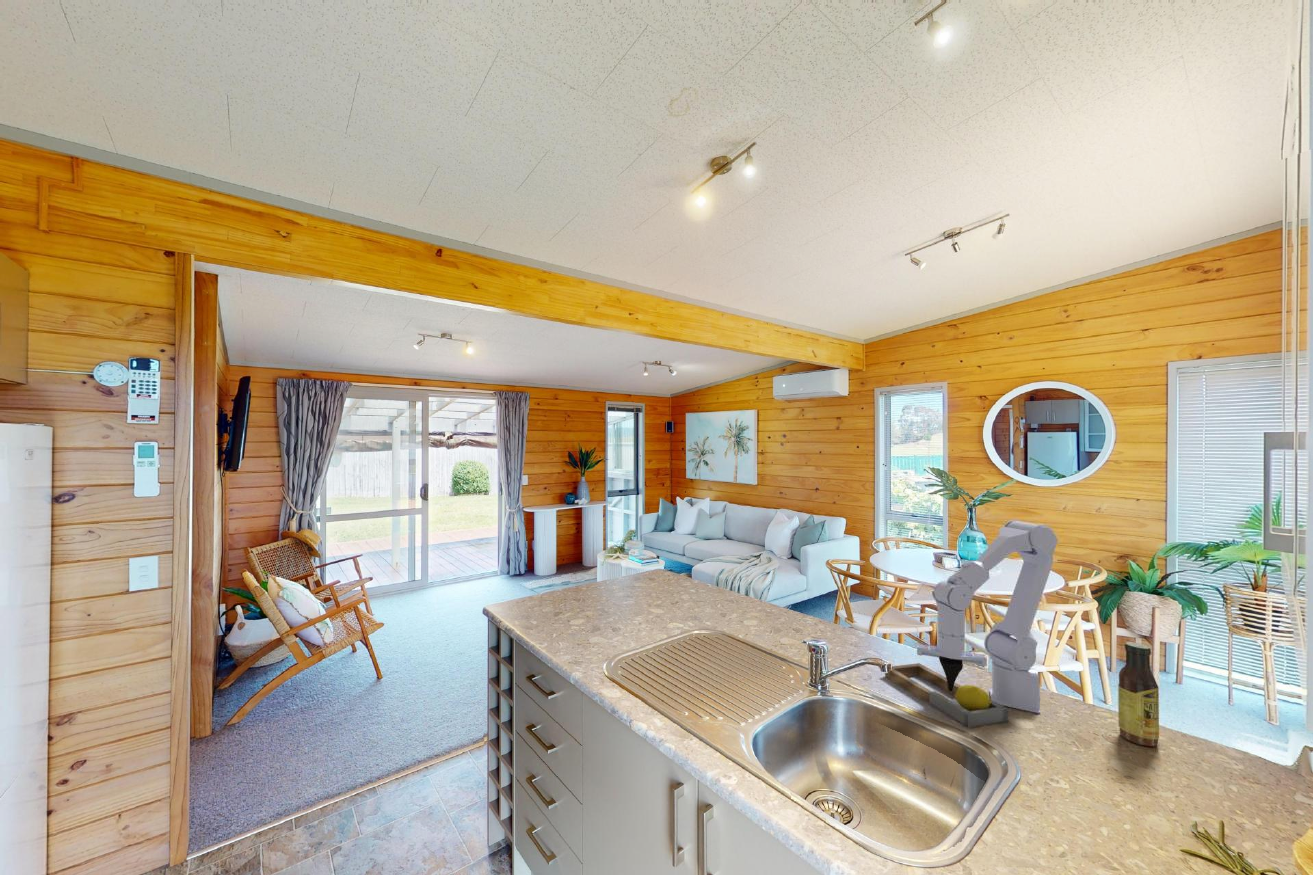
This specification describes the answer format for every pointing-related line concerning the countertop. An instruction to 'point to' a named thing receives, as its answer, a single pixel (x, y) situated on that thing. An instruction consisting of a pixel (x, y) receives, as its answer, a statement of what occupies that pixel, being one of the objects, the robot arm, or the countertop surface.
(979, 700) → the lemon
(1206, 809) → the countertop surface
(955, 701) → the tray
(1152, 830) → the countertop surface
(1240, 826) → the countertop surface
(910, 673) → the slot rails
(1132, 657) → the sauce bottle
